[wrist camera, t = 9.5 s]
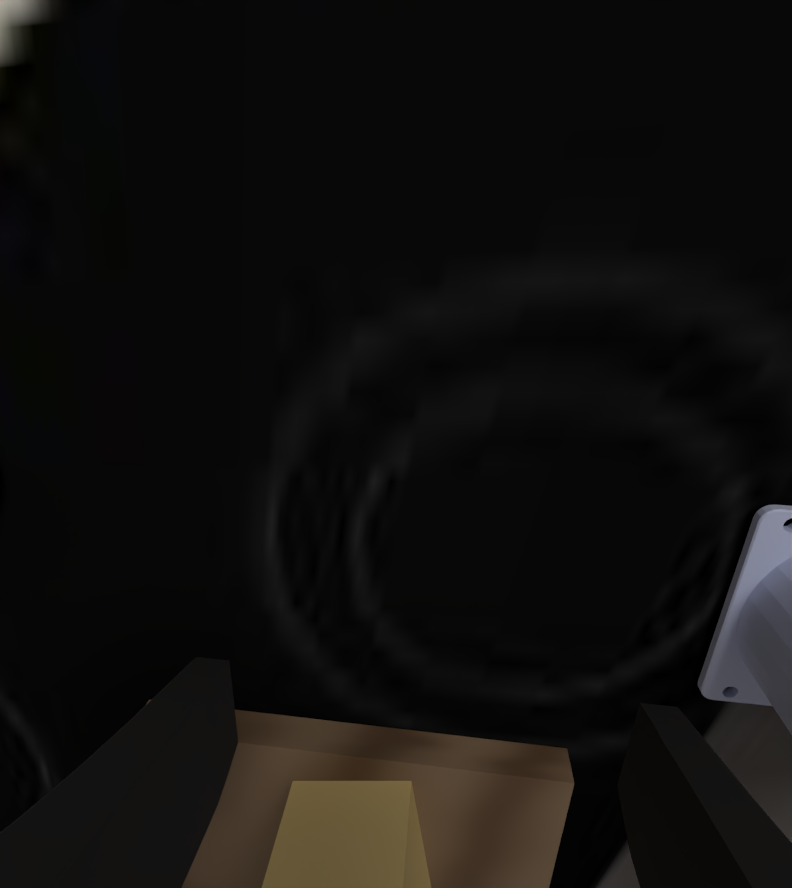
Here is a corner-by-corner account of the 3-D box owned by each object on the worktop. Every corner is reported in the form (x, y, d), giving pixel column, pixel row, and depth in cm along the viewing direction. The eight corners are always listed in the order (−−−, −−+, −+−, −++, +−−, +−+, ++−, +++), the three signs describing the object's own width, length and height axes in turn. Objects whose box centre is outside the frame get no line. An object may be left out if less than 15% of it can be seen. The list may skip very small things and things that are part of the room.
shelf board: (567, 748, 22) (574, 783, 21) (528, 918, 27) (532, 956, 25) (149, 699, 24) (130, 729, 22) (180, 869, 28) (166, 901, 27)
